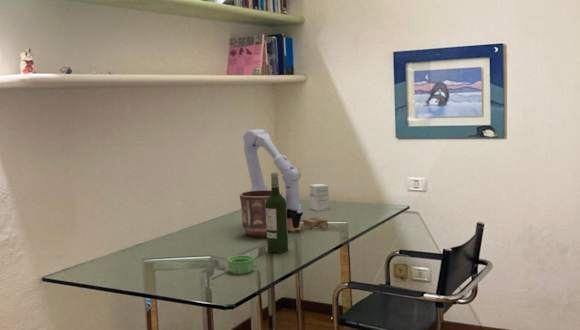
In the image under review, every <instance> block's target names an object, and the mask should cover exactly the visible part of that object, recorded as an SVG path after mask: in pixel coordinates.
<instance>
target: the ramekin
mask: <svg viewBox="0 0 580 330" xmlns="http://www.w3.org/2000/svg"><path fill="white" fill-rule="evenodd" d="M254 259H255V258H254V256H252V255H247V254H246V255H245V254H244V255H243V254H242V255H233V256H229V258H227V263H228V270H229V272H230V274H234V275H244V274H248V273H251V272H253V270H254Z"/></svg>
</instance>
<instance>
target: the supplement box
mask: <svg viewBox="0 0 580 330" xmlns="http://www.w3.org/2000/svg"><path fill="white" fill-rule="evenodd" d="M329 202H330V201H329V185H328V184H324V183H316V184H315V183H314V184H309V204H310V207H309V208H310V209H311V210H314V211H318V212H319V211H326V210H330V204H329Z"/></svg>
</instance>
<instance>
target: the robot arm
mask: <svg viewBox="0 0 580 330" xmlns="http://www.w3.org/2000/svg"><path fill="white" fill-rule="evenodd" d="M242 138H243V139H242V140H243V143H244V145H243V150H244V152H243V153H244V155H245V160H246V165H247V169H248V172H249V177H250V183H251V187H252V188H251V190H250V191H259V190H270V189H269V187H268V186H267V185H266V184H265V182H264V177H263V172H262V168H261V164H260V160H259V155H258V150H259V148H260V147H262V148H264V149H265V151H267V153H268V154H269V155H270V156H271V158H272V159H274V161H273V164H274V165H275V167H276V168H277V169H278V171H280V173H281V175H282V176H281V177H282V180H283V182H284V185H285V200H286V211H287V218H292V222H293V227H294V228H298V227H299V223H300V224H301V221H300V219H301V216H302V217H303V214H304V212H303V208H302V206H303V205H302V204H300V185H299V183H300V182H299V180H300V179H301V177H302V174H301V171H300V169H299V168H297V167H294V165H293V164H292V163H291V162H290V161H289V158H288V157H287V156H285V155H284V154H281V153H280V151H279V150H278V149H277V147H276V146H275V145H274V143H273V142H272V139H271V138H270V134H269V133H267V130H266V129H264V128H258V129H248V130H246V132H245V133H244V134H243V135H242Z"/></svg>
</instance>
